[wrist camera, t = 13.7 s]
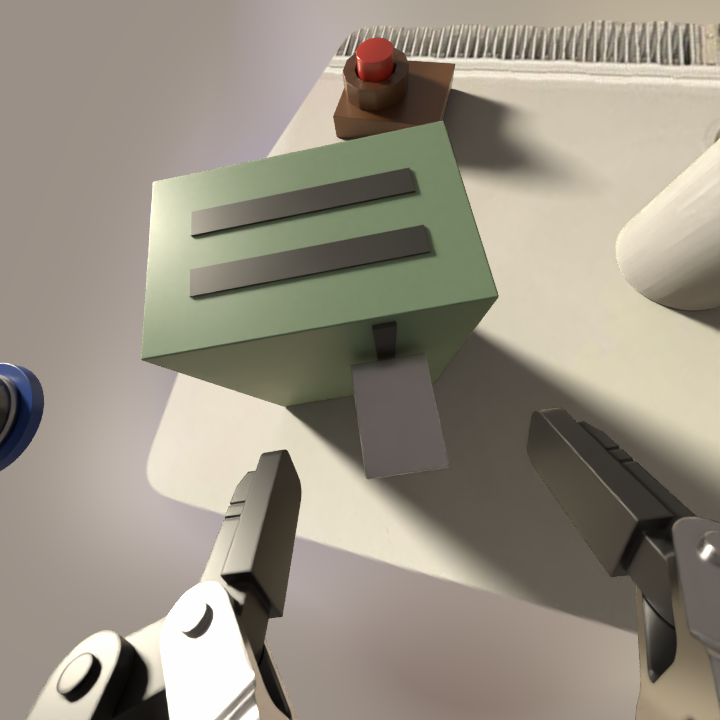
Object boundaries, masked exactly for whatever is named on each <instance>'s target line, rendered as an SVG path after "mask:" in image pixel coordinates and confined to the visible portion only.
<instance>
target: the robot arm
mask: <svg viewBox="0 0 720 720" xmlns="http://www.w3.org/2000/svg"><path fill="white" fill-rule="evenodd" d="M20 405H21V401H20V394H19V391H18V388H17V386H16V385H15V383H14V382H13V381H12V380H11V379H9V378H8V377H6V376H3V375H0V448H1V446H2V445H3V444H4V443H5V442H6V441H7V439H8V438H9V436H10V435H11V433H12V431H13V429H14V427H15V425H16V423H17V420H18V417H19V413H20ZM527 451H528V455H529V458H530V461H531V463H532V465H533V466H534V468H535V469H536V470H537V472H538V473H539V475H540V476H541V478H542V479H543V481H544V482H545V483H546V485H547V486H548V488H549V489H550V491H551V492H552V493H553V495H554V496H555V498H556V499H557V501H558V502H559V504H560V505H561V506H562V508H563V509H564V511H565V512H566V514H567V515H568V517H569V518H570V519H571V521H572V522H573V524H574V525H575V527H576V528H577V529H578V531H579V532H580V534H581V535H582V537H583V538H584V540H585V541H586V542H587V544H588V545H589V547H590V548H591V550H592V551H593V552H594V554H595V555H596V557H597V558H598V560H599V561H600V563H601V564H602V565H603V567H604V568H605V570H606V571H607V573H608V574H609V576H610V577H617V576H625V575H629V576H630V577H631V578H632V580H633V581H634V582H635V584H636V585H637V589H636V610H637V627H638V642H639V643H638V644H639V659H640V678H641V683H640V693H639V698H638V702H637V708H636V717H635V720H720V523H719V522H716V521H713V520H710V519H706V518H700V517H697V516H696V515H695V514H693V513H692V512H691V511H690V510H689V509H688V508H686V507H685V506H684V505H683V504H682V503H681V502H680V501H679V500H678V499H677V498H676V497H674V496H673V495H672V494H671V493H670V492H669V491H668V490H667V489H666V488H665V487H663V486H662V485H661V484H660V483H659V482H658V481H657V480H656V479H655V478H654V477H652V476H651V475H650V474H649V473H648V472H647V471H646V470H645V469H644V468H643V467H641V466H640V465H639V464H638V463H637V462H634V461H633V459H632V457H630V456H629V455H628V454H627V453H626V452H625V451H624V450H623V449H620V448H619V446H618V445H617V444H616V443H615V442H614V441H613V440H612V439H611V438H610V437H609V436H607V435H606V434H605V433H604V432H603V431H601V430H599V429H597V428H595V427H593V426H591V425H590V424H588V423H586V422H584V421H582V422H577V421H576V420H575V419H574V418H573V417H572V416H571V415H570V414H568V413H567V412H566V411H565V410H564V409H562V408H559V407H558V408H552V409H545V410H539V411H534V412H533V413H532V415H531V420H530V427H529V435H528V442H527ZM300 502H301V483H300V479H299V477H298V474H297V472H296V469H295V467H294V465H293V462H292V460H291V457H290V455H289V453H288V451H287V450H279V451H273V452H267V453H263V454H262V455H261V457H260V460H259V463H258V466H257V469H256V471H251V472H248V473H247V474H246V475H245V477H244V478H243V479H242V480H241V482H240V483H239V484H238V486H237V487H236V490H235V492H234V495H233V497H232V500H231V502H230V504H231V505H230V506H229V507H228V510H227V513H226V515H225V520H224V521H223V523H222V525H221V528H220V531H219V533H218V536H217V538H216V541H215V543H214V546H213V549H212V551H211V554H210V557H209V559H208V561H207V564H206V567H205V569H204V572H203V574H202V576H201V579H200V581H199V583H198V584H197V586H195V587H194V588H192V589H191V590H189V591H188V592H187V593H186V594H184V595H183V596H182V597H181V599H180V600H179V601H178V602H177V603H176V604H175V606H174V607H173V609H172V610H171V612H170V613H169V615H167V616H166V617H164V618H162V619H160V620H158V621H156V622H154V623H152V624H151V625H148V626H146V627H144V628H143V629H141V630H138V631H136V632H135V633H133V634H130V635H129V636H126V637H125V638H123V637H121V636H120V635H119V634H117V633H116V632H114V631H111V630H105V631H101V632H98V633H96V634H93V635H92V636H90V637H88V638H87V639H85V640H84V641H82V642H81V643H80V644H78V645H77V646H76V647H75V648H74V649H73V650H72V651H71V652H70V653H69V654H68V655H67V656H66V657H65V658H64V659H63V660H62V661H61V662H60V664H59V665H58V666H57V667H56V669H55V670H54V672H53V673H52V674H51V676H50V677H49V679H48V681H47V682H46V684H45V685H44V687H43V689H42V690H41V692H40V694H39V696H38V697H37V699H36V701H35V702H34V704H33V706H32V707H31V709H30V711H29V712H28V714H27V716H26V718H25V719H24V720H298V718H297V716H296V714H295V711H294V709H293V706H292V704H291V701H290V698H289V696H288V694H287V691H286V688H285V686H284V683H283V681H282V678H281V676H280V673H279V671H278V668H277V666H276V663H275V661H274V658H273V656H272V653H271V650H270V648H269V646H268V643H267V640H266V638H265V635H266V629H267V624H268V619H269V618H276V617H282V616H283V610H284V604H285V603H284V602H285V597H286V590H287V585H288V578H289V572H290V566H291V559H292V553H293V546H294V540H295V534H296V528H297V521H298V515H299V509H300Z"/></svg>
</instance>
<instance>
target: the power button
mask: <svg viewBox="0 0 720 720" xmlns="http://www.w3.org/2000/svg"><path fill="white" fill-rule="evenodd" d="M393 55H394V48H393V45H392V43H391V42H390V41H388V40H387V39H384V38H372V39H369V40H366V41H364V42H363V43H361V44H360V45H359V47H358V48H357V51H356V57H357V68H358V76H359V78H360V79H361V80H362V81H364V82H373V83H377V82H380V81H383V80H386V79H387V78H389V77H390V76H391V75H392V74H393Z"/></svg>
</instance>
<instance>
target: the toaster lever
mask: <svg viewBox="0 0 720 720" xmlns="http://www.w3.org/2000/svg"><path fill="white" fill-rule="evenodd" d="M350 370H351V377H352V384H353V391H354V398H355V405H356V413H357V420H358V427H359V434H360V441H361V448H362V455H363V462H364V469H365V476H366V479H374V478H381V477H388V476H395V475H402V474H408V473H415V472H422V471H429V470H436V469H443V468H449V467H450V464H449V459H448V455H447V450H446V445H445V441H444V436H443V432H442V427H441V423H440V418H439V414H438V409H437V405H436V400H435V395H434V391H433V386H432V382H431V377H430V373H429V368H428V364H427V359H426V355H425V353H418V354H412V355H406V356H400V357H394V358H388V359H382V360H376V361H370V362H364V363H358V364H353V365H350Z"/></svg>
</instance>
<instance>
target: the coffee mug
mask: <svg viewBox="0 0 720 720" xmlns="http://www.w3.org/2000/svg"><path fill="white" fill-rule="evenodd" d="M615 255H616V260H617V263H618V266H619V269H620V270H621V272H622V274H623V275H624V277H625V278H626V280H627V281H628V282H629V283H630V284H631V285H632V286H633V287H634V288H635V289H636V290H637V291H638V292H640V293H641V294H643V295H644V296H645V297H647V298H649V299H651V300H653V301H655V302H657V303H659V304H662V305H665V306H668V307H671V308H675V309H680V310H693V311H694V310H706V309H711V308H715V307H718V306H720V139H719V140H718V141H717V142H716V143H715V144H714V145H713V146H711V147H710V148H709V149H708V150H707V151H706V152H705V153H704V154H703V155H702V156H701V157H699V158H698V159H697V160H696V161H695V162H694V163H693V164H692V165H691V166H690V167H689V168H687V169H686V170H685V171H684V172H683V173H682V174H681V175H680V176H679V177H678V178H676V179H675V180H674V181H673V182H672V183H671V184H670V185H669V186H668V187H667V188H666V189H664V190H663V191H662V192H661V193H660V194H659V195H658V196H657V197H656V198H655V199H654V200H652V201H651V202H650V203H649V204H648V205H647V206H646V207H645V208H644V209H643V210H641V211H640V212H639V213H638V214H637V215H636V216H635V217H634V218H633V219H632V220H631V221H629V222H628V223H627V224H626V225H625V226H624V228H623V229H622V230H621V232H620V234H619V236H618V238H617V241H616V247H615Z"/></svg>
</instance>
